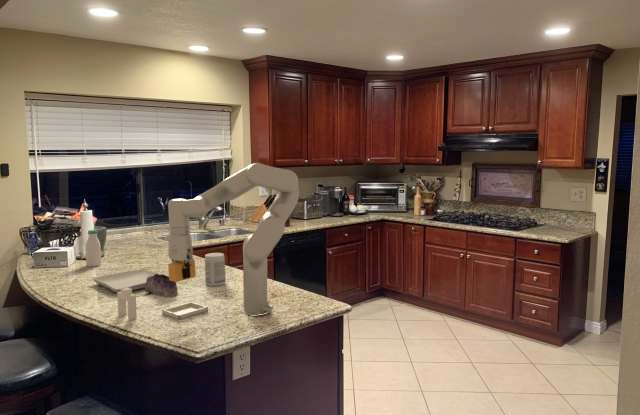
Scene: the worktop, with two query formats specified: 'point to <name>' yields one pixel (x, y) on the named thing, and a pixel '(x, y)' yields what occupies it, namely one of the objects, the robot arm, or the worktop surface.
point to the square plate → (125, 280)
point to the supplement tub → (215, 269)
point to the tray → (185, 310)
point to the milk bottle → (93, 249)
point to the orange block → (179, 271)
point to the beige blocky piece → (131, 299)
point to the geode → (161, 286)
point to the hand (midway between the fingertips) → (182, 276)
